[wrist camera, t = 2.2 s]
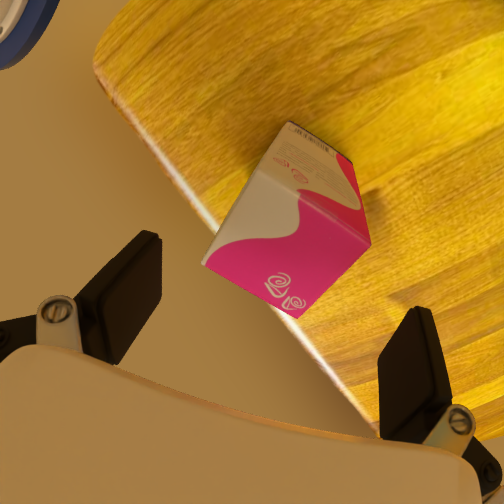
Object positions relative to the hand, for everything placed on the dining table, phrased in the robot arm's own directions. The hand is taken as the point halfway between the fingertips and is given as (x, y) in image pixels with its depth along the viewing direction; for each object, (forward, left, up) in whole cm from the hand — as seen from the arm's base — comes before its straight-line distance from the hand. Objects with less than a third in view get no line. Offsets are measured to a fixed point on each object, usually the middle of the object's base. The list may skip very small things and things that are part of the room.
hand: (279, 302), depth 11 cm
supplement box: (0, 0, -15) cm, 15 cm away
